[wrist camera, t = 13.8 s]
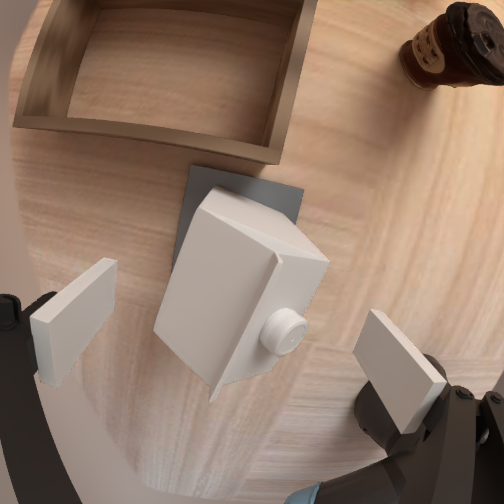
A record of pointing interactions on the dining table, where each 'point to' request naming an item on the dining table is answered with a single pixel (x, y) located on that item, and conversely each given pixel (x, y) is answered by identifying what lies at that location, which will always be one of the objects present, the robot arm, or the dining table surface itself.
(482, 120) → the dining table surface
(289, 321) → the milk carton
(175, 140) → the crate
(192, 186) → the coaster
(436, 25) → the coffee cup
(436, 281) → the dining table surface
